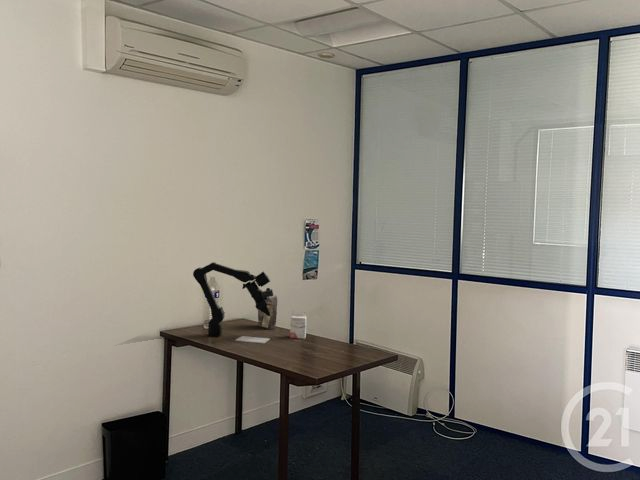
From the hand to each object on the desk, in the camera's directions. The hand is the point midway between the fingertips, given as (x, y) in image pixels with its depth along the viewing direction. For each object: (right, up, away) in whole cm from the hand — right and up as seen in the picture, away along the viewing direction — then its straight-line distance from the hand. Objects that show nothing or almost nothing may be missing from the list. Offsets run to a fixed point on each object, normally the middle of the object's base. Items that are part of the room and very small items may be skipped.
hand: (269, 315), depth 341 cm
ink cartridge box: (+15, -13, +4) cm, 21 cm away
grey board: (-9, -13, -7) cm, 17 cm away
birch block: (-3, -6, 0) cm, 7 cm away
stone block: (-4, -11, +27) cm, 29 cm away
